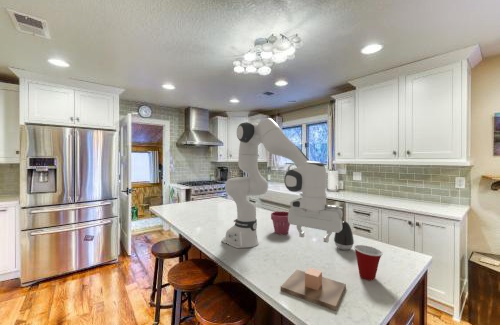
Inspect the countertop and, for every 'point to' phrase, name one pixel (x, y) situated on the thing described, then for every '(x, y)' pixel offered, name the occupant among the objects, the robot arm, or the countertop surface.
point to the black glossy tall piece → (344, 237)
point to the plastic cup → (367, 261)
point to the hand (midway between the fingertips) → (313, 239)
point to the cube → (313, 278)
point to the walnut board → (324, 296)
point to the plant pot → (280, 222)
